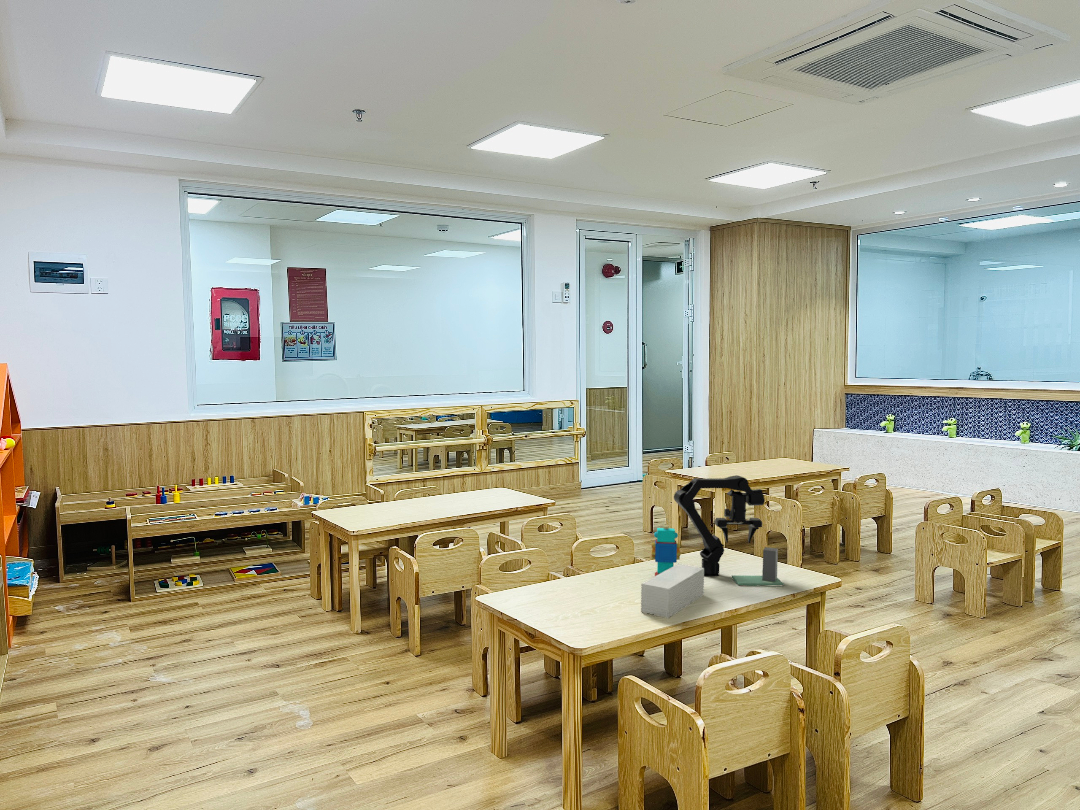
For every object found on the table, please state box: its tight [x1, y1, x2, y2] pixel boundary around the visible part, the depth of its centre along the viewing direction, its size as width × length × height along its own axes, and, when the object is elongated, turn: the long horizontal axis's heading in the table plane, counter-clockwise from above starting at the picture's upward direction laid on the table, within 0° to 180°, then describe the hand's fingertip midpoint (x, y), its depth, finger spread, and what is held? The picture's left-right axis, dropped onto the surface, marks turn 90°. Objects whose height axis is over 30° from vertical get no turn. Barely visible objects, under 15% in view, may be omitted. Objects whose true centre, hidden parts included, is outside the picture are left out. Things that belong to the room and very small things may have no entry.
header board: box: [731, 574, 785, 587], centre depth 319 cm, size 18×11×4 cm, turn 90°
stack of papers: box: [640, 563, 705, 619], centre depth 291 cm, size 32×11×11 cm, turn 146°
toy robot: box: [650, 519, 681, 577], centre depth 321 cm, size 12×6×25 cm, turn 84°
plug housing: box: [761, 547, 779, 582], centre depth 319 cm, size 5×5×12 cm
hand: (737, 542), depth 331 cm, fingers open, 9 cm apart
